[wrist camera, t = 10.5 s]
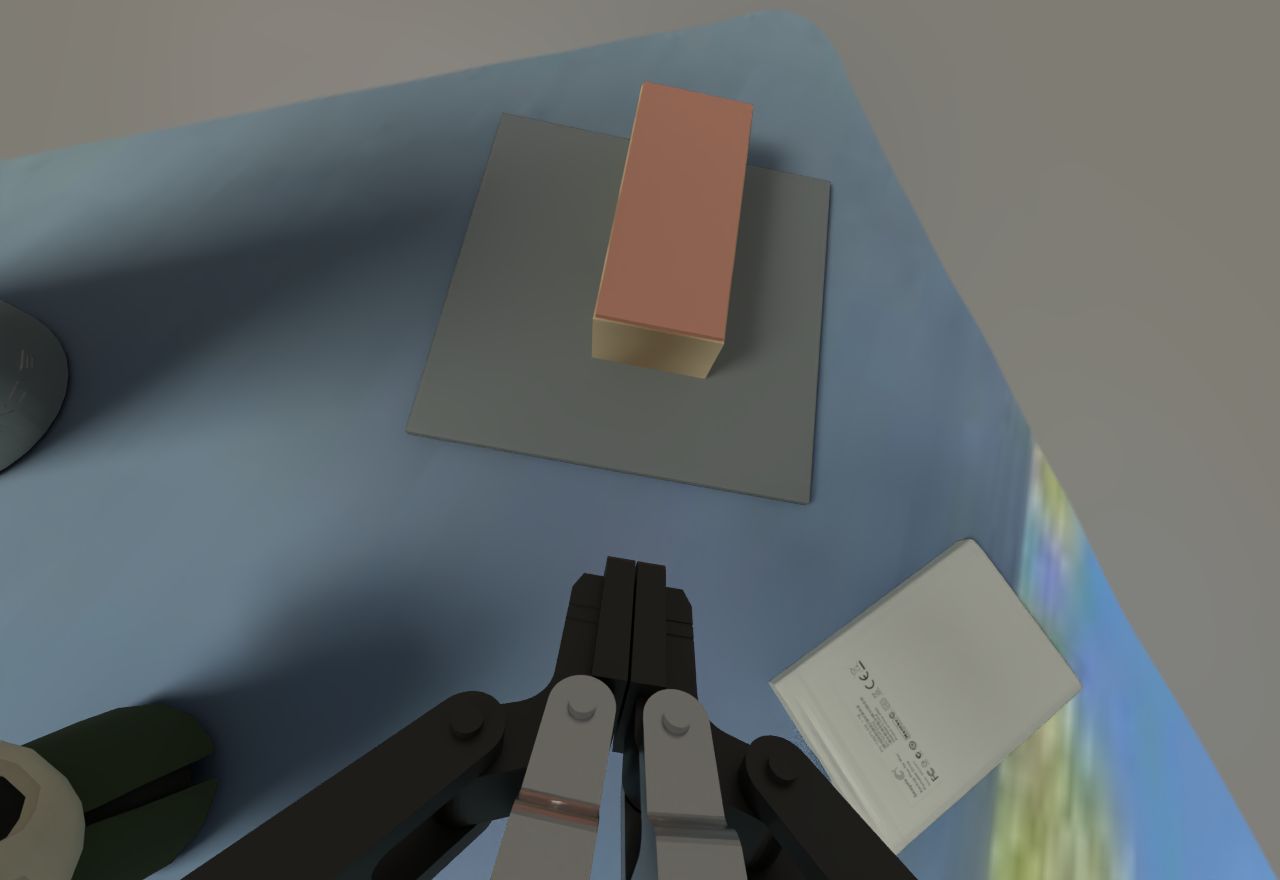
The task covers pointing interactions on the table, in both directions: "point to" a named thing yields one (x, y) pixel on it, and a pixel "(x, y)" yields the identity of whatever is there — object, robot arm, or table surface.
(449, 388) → the slate mat
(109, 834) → the character mug
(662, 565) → the robot arm
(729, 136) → the oak block
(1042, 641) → the external hard drive
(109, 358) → the table surface
